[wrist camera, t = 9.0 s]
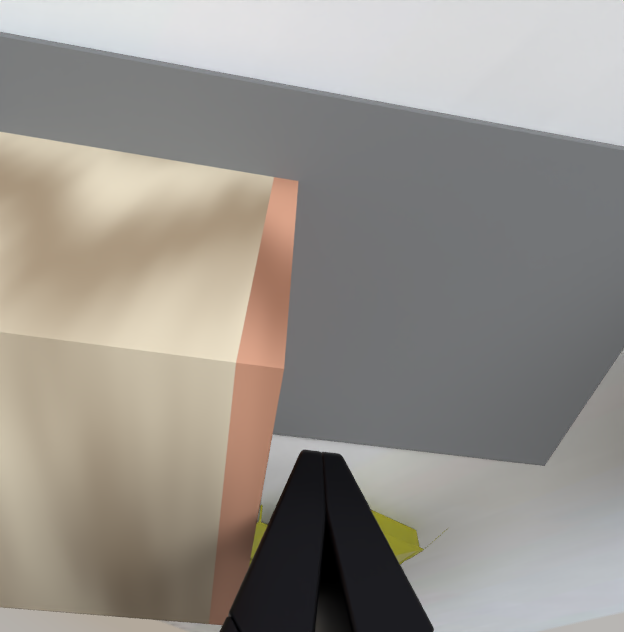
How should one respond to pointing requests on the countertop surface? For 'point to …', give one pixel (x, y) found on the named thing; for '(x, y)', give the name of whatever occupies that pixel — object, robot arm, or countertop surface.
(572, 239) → the charcoal mat
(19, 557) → the birch cube
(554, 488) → the countertop surface
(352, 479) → the robot arm
